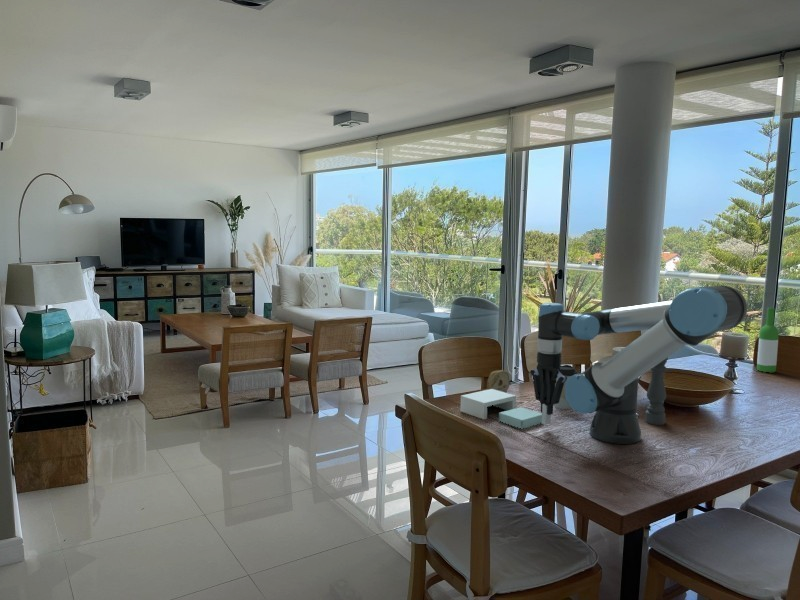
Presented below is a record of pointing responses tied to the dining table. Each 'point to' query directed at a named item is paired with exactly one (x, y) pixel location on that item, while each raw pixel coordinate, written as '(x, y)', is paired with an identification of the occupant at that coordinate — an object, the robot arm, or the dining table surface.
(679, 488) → the dining table surface
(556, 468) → the dining table surface
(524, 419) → the mint green flat box
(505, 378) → the stone disc
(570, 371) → the coffee cup
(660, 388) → the candle holder
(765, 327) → the wine bottle
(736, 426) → the dining table surface
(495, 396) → the low shelf
